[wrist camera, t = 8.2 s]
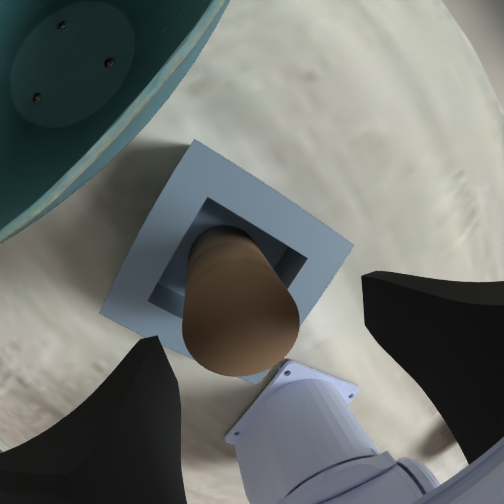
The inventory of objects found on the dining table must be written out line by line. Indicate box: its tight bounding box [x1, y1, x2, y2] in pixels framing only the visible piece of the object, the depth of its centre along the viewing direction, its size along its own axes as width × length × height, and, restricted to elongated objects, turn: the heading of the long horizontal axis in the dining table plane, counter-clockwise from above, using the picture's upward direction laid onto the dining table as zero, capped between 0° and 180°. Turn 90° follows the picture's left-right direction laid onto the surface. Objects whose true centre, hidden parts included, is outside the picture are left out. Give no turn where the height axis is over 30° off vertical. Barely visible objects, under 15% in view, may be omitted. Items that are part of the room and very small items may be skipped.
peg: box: [182, 225, 300, 377], centre depth 14 cm, size 4×4×8 cm
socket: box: [100, 139, 354, 385], centre depth 17 cm, size 10×10×4 cm
